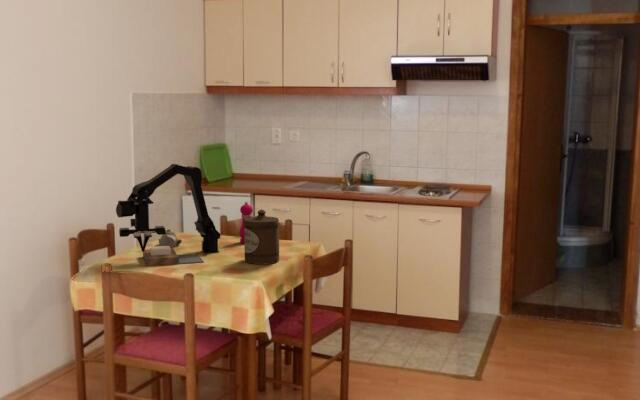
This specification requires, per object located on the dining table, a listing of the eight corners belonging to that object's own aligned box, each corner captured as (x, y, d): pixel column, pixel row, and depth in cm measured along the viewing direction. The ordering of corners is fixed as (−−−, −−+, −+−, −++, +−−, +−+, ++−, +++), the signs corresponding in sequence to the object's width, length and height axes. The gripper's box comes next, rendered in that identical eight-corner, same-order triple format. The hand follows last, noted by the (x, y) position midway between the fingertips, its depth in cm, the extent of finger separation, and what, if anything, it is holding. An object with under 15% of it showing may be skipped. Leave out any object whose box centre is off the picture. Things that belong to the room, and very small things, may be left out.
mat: (197, 254, 325) (197, 253, 325) (203, 262, 310) (203, 261, 310) (174, 255, 322) (174, 255, 322) (179, 264, 307) (179, 263, 307)
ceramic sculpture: (154, 231, 332) (160, 227, 347) (154, 250, 332) (160, 245, 347) (177, 231, 332) (182, 227, 347) (177, 250, 333) (182, 245, 348)
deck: (173, 255, 324) (173, 248, 324) (178, 264, 307) (178, 257, 307) (143, 256, 320) (142, 250, 319) (146, 266, 303) (146, 258, 303)
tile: (169, 251, 317) (168, 245, 317) (170, 254, 311) (170, 248, 311) (150, 252, 315) (149, 246, 314) (151, 255, 309) (151, 249, 309)
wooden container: (240, 258, 319) (239, 208, 316) (272, 255, 325) (272, 206, 322) (250, 265, 305) (250, 213, 302) (284, 262, 311) (284, 211, 308)
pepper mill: (251, 244, 348) (251, 202, 345) (237, 243, 350) (236, 202, 347) (256, 241, 355) (255, 200, 352) (241, 240, 357) (241, 200, 354)
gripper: (162, 210, 319) (163, 246, 321) (117, 212, 313) (119, 248, 315) (165, 215, 308) (166, 251, 311) (119, 217, 303) (120, 254, 305)
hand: (143, 251), depth 311 cm, fingers closed
